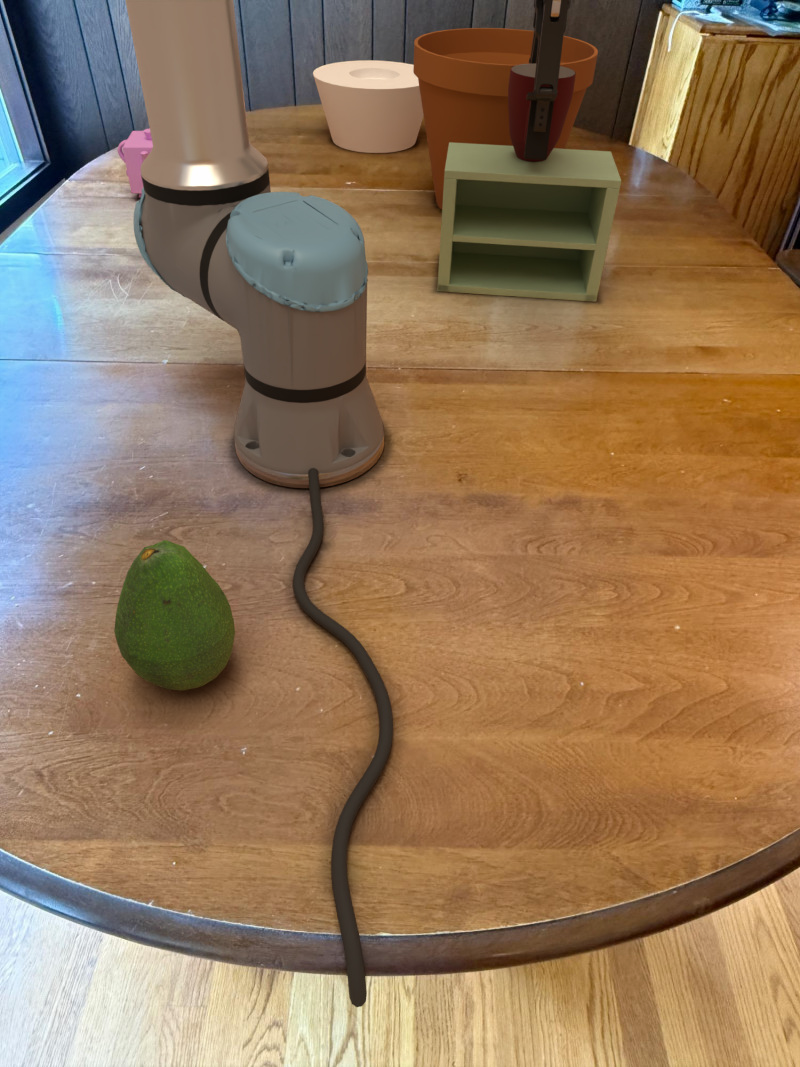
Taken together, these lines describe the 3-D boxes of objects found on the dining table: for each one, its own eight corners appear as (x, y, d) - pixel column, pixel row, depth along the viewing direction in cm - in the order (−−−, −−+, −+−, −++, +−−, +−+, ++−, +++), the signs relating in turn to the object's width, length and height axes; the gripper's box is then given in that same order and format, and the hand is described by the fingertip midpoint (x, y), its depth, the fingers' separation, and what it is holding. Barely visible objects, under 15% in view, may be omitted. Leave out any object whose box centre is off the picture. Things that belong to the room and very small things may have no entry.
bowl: (383, 117, 172) (383, 55, 164) (456, 144, 159) (460, 78, 151) (292, 135, 161) (288, 69, 152) (363, 166, 147) (363, 95, 139)
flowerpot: (381, 188, 138) (382, 33, 122) (512, 169, 148) (529, 24, 132) (461, 245, 120) (475, 72, 104) (604, 219, 130) (637, 57, 114)
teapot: (197, 210, 128) (188, 146, 121) (116, 210, 127) (102, 145, 120) (209, 174, 141) (201, 115, 134) (135, 174, 140) (123, 114, 133)
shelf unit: (596, 301, 107) (621, 180, 96) (437, 291, 108) (444, 170, 97) (588, 266, 116) (611, 151, 105) (441, 256, 117) (449, 142, 106)
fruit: (157, 734, 54) (120, 621, 46) (115, 660, 59) (75, 546, 51) (259, 681, 58) (241, 567, 50) (212, 616, 62) (189, 502, 54)
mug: (564, 175, 97) (579, 85, 90) (499, 171, 97) (509, 81, 91) (561, 150, 105) (574, 65, 98) (501, 146, 105) (510, 61, 98)
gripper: (607, -61, 76) (568, 175, 91) (587, -80, 93) (557, 121, 108) (530, -64, 77) (504, 172, 91) (524, -83, 94) (503, 119, 108)
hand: (533, 144), depth 100 cm, fingers closed on mug, 10 cm apart
